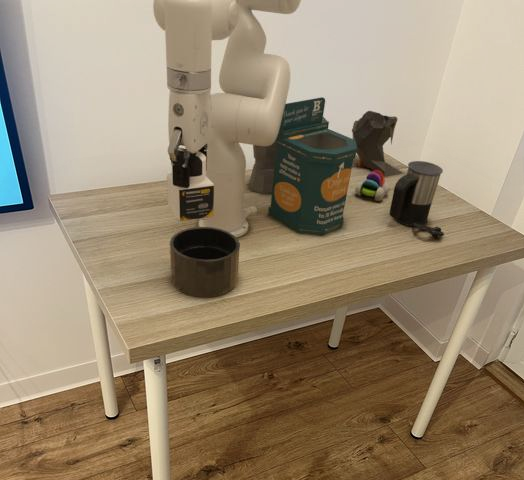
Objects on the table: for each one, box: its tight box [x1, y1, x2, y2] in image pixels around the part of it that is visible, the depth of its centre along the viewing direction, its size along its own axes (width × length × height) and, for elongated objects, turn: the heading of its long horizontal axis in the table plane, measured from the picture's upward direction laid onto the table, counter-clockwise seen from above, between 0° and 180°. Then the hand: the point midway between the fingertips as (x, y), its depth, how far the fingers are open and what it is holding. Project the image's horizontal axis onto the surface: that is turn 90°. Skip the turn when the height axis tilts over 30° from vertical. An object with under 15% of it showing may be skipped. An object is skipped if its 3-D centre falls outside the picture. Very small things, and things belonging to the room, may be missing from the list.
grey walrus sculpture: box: [351, 110, 403, 178], centre depth 169 cm, size 14×15×18 cm
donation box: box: [267, 97, 357, 236], centre depth 133 cm, size 16×16×28 cm
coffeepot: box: [248, 142, 276, 195], centre depth 149 cm, size 15×9×18 cm, turn 37°
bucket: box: [169, 226, 241, 298], centre depth 113 cm, size 14×14×9 cm
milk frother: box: [389, 160, 445, 238], centre depth 139 cm, size 14×16×15 cm
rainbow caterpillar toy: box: [354, 170, 391, 202], centre depth 155 cm, size 8×10×7 cm
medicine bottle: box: [166, 151, 214, 223], centre depth 103 cm, size 7×7×12 cm
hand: (190, 177), depth 102 cm, fingers closed on medicine bottle, 7 cm apart
